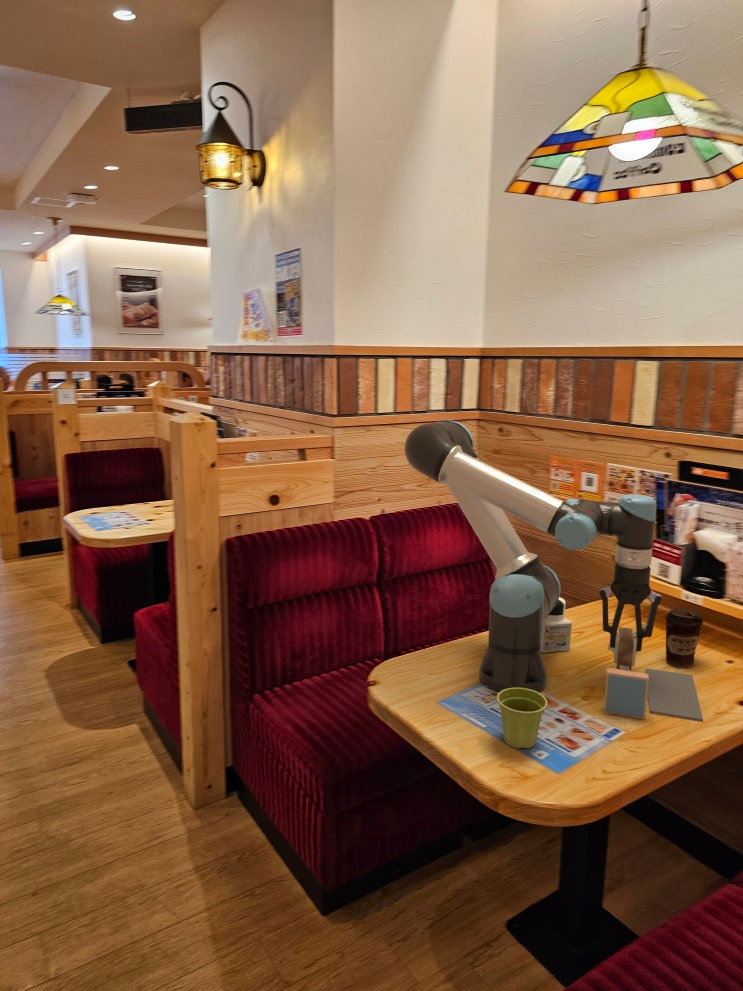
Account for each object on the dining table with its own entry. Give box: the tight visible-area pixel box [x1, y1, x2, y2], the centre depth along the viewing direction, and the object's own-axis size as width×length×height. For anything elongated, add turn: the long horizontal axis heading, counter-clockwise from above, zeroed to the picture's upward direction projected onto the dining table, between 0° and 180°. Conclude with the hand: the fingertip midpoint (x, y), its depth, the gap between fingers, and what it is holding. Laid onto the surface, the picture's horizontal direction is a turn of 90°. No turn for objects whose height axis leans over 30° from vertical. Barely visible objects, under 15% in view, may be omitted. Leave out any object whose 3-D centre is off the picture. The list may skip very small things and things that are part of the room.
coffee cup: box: [664, 607, 704, 668], centre depth 161 cm, size 9×8×13 cm
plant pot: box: [496, 688, 548, 749], centre depth 128 cm, size 9×9×9 cm
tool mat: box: [645, 667, 704, 722], centre depth 147 cm, size 10×21×1 cm, turn 160°
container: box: [540, 596, 573, 654], centre depth 170 cm, size 8×8×13 cm
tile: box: [603, 667, 649, 720], centre depth 138 cm, size 8×2×9 cm, turn 70°
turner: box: [610, 626, 640, 673], centre depth 151 cm, size 7×20×6 cm, turn 161°
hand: (624, 661), depth 154 cm, fingers closed on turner, 3 cm apart
